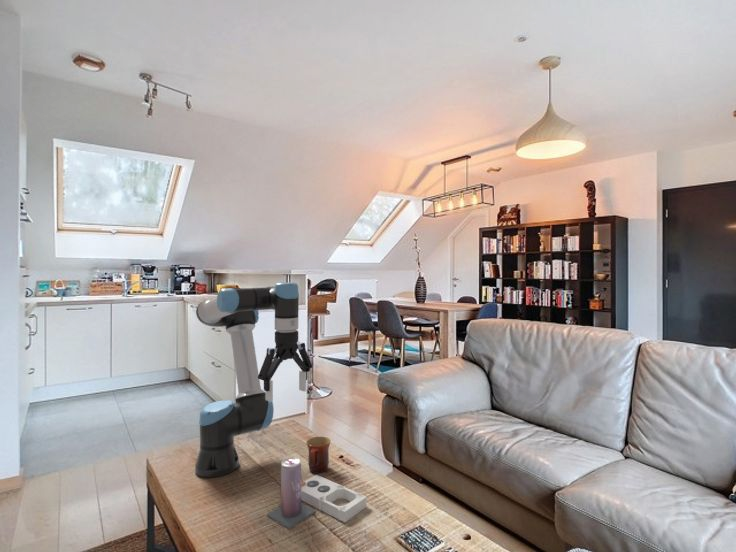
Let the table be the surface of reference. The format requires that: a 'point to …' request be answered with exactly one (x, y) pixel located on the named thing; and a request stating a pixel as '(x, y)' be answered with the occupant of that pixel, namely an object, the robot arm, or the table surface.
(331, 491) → the strip dock
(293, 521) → the coaster
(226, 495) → the table surface
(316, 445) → the mug
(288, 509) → the beverage can
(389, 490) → the table surface
